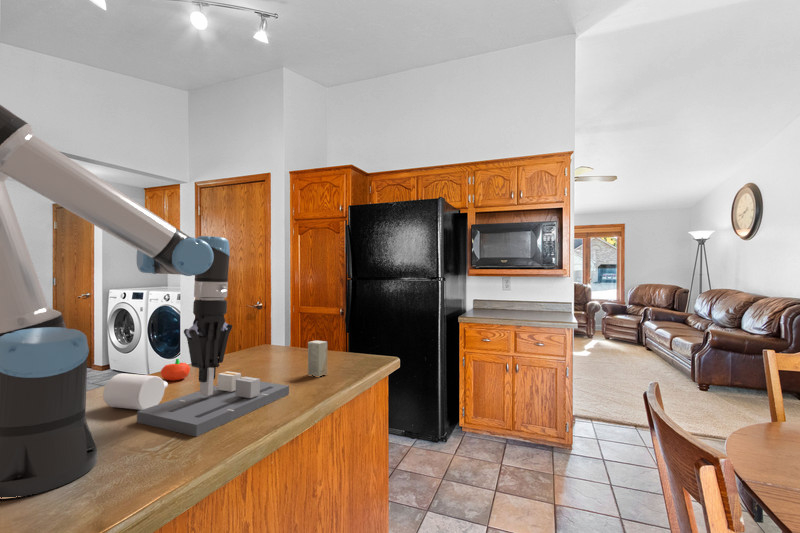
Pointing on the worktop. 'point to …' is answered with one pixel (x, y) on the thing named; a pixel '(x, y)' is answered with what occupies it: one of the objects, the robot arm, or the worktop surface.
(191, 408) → the console
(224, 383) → the fader
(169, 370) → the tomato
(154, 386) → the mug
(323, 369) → the box
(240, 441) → the worktop surface
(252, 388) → the fader
